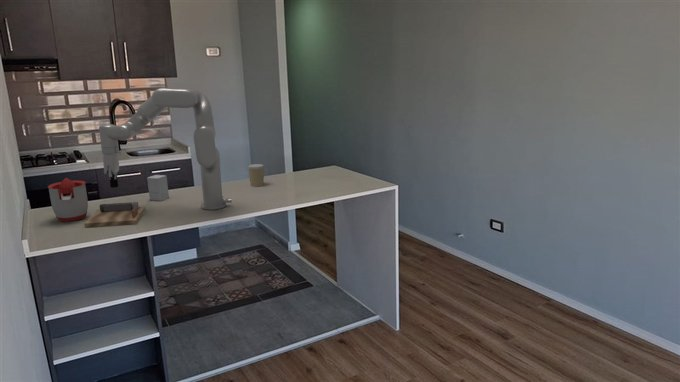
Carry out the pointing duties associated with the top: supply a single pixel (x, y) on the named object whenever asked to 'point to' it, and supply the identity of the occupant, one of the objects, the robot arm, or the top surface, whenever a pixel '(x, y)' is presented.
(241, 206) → the top surface
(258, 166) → the coffee cup
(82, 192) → the citrus juicer
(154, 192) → the supplement box
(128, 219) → the flat wooden plank
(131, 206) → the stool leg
